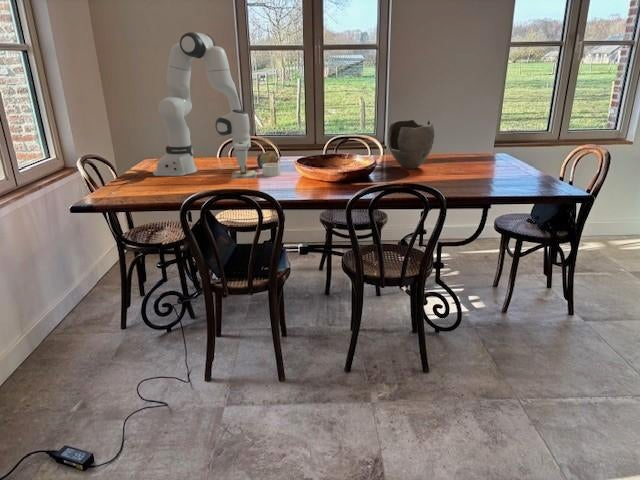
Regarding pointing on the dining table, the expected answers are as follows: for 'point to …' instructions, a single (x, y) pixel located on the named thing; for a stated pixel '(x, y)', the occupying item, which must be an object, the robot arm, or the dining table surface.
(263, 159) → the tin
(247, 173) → the lid
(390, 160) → the dining table surface
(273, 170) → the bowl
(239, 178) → the mat
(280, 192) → the dining table surface
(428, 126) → the clay pot
